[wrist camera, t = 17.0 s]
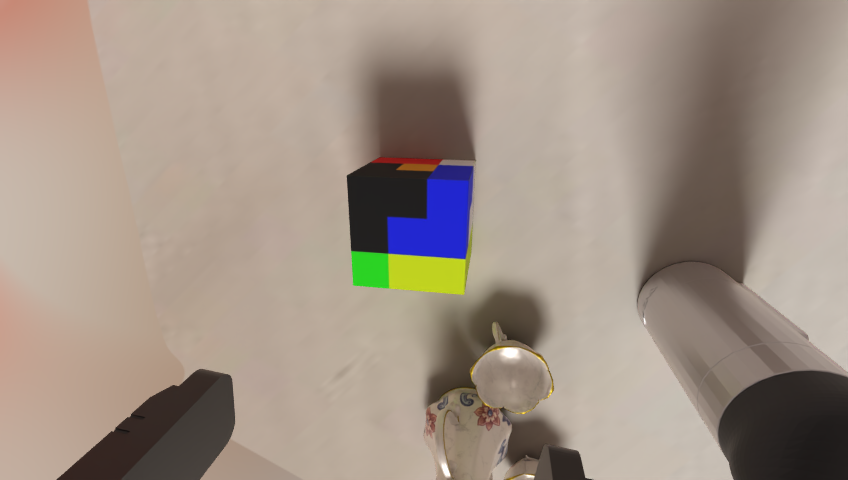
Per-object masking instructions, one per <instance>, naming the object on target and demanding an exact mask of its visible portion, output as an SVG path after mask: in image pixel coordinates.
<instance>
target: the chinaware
mask: <svg viewBox="0 0 848 480" xmlns="http://www.w3.org/2000/svg"><path fill="white" fill-rule="evenodd" d="M492 332H493V336H494V339H495V344H494V345H492V346H490V347H489V348H488V349H487V350H486V351H485V353H484V354H483V355H482V356H481V357H480V358H479V359H478V360H477V361H476V362H475V363H474V365H473V366H472V367H471V369H470V377H471V381H472V383H473V384H474V385H476V386H475V388H476V389H475V388H470V387H460V388H455V389H452V390H449V391H447V392H446V393H444V394H443V395H442V396H441V397H440V399H439V400H438V401H437V402H435V403H433V404H431V405H430V406H429V407H428V408H427V410H426V425H425V430H424V440H425V443H426V444H427V446H428V448H429V450H430V451H431V453H432V455H433V458H434V461H435V466H436V474H437V476H436V480H492V471H493V469H494V468H495V467H496V466H497V465H498V464H499V463H500V462H501V461H502V460H503V459H504V457H505V456H506V454H507V450H508V441H509V436H510V434H511V431H512V424H511V422H510V420H509V419H508V418H507V417H506V416H505V415H504V414H503V413H502V412H501V409H500V408H502V407H503V406H504V409H506V410H508V411H510V412H512V413H518V414H525V413H527V412H529V411H531V410H533V409H534V408H535V406H536V405H537V404H538V403H539V400H540V401H541V400H544V399H546V398H548V397H549V396H550V394H551V393H552V392H553V391H554V386H553V379H552V376H551V373H550V371H549V368H548V365H547V363H546V361H545V360H544V358H543V356H542V355H541V354H539V353H537V352H535V351H534V350H533V349H531V348H530V347H529V346H527V345H526V344H524V343H521V342H519V341H514V339H513V340H507V336H506V334H503V333H502V330H501V328H500V326H499V324H498V322H493V324H492ZM498 333H499V335H500V336H498ZM499 339H500V340H499ZM538 463H539V459H538V460H537V459H534V458H531V457H528V456H527V455H526V457H525V458H523V459H521V460H520V461H518V462H517V461H516V464H514V465H513V466H512V467H511V468H510V469H509V470H508V471H507V473H506V475H505V477H504V480H534V477H535V473H536V470H537V466H538Z"/></svg>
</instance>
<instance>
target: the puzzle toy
mask: <svg viewBox="0 0 848 480" xmlns="http://www.w3.org/2000/svg"><path fill="white" fill-rule="evenodd" d="M475 164H476V161H475V160H445V159H414V158H383V157H379V158H377V159H376V160H374V161H372V162H370V163H368V164H367V165H365V166H363V167H361V168H360V169H358V170H356V171H354V172H352V173H351V174H349V175H347V186H348V203H349V220H350V237H351V254H352V271H353V285H354V286H366V287H378V288H390V289H402V290H414V291H426V292H438V293H450V294H462V295H464V292H465V286H466V280H467V274H468V268H469V263H470V257H471V246H472V225H473V205H474V184H475Z"/></svg>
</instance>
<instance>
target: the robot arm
mask: <svg viewBox="0 0 848 480" xmlns="http://www.w3.org/2000/svg"><path fill="white" fill-rule="evenodd" d="M638 313H639V316H640V319H641V321H642V322H643V324H644V326H645V327H646V329H647V330H648V332H649V334H650V335H651V337H652V339H653V340H654V342H655V344H656V345H657V347H658V349H659V350H660V352H661V354H662V355H663V357H664V358H665V360H666V362H667V363H668V365H669V367H670V368H671V370H672V371H673V373H674V375H675V376H676V378H677V379H678V381H679V383H680V384H681V386H682V388H683V389H684V391H685V392H686V394H687V396H688V397H689V399H690V401H691V402H692V404H693V405H694V407H695V409H696V410H697V412H698V413H699V415H700V417H701V418H702V420H703V421H704V423H705V425H706V426H707V428H708V429H709V431H710V433H711V434H712V436H713V437H714V439H715V441H716V442H717V444H718V446H719V447H720V449H721V450H722V452H723V453H724V455H725V457H726V458H727V460H728V462H729V465H730V470H731V474H732V476H733V479H734V480H848V372H847V371H845V370H844V369H843V368H842V367H841V366H839V365H838V364H837V363H836V362H834V361H833V360H832V359H831V358H829V357H828V356H827V355H826V354H824V353H823V352H822V351H820V350H819V349H818V348H817V347H816V346H814V345H813V344H812V343H811V342H809V338H808V335H807V334H806V333H805V332H804V331H803V330H801V329H800V328H799V327H798V326H796V325H795V324H794V323H792V322H791V321H790V320H789V319H787V318H786V317H785V316H784V315H782V314H781V313H780V312H779V311H777V310H776V309H775V308H774V307H772V306H771V305H770V304H768V303H767V302H766V301H765V300H763V299H762V298H761V297H760V296H758V295H757V294H756V293H755V292H753V291H752V290H751V289H749V288H748V287H747V286H746V285H744V284H743V283H738V282H736V281H735V280H733V279H732V278H731V277H730V276H728V275H727V274H726V273H725V272H723V271H722V270H720V269H719V268H717V267H715V266H712V265H710V264H707V263H702V262H682V263H677V264H673V265H671V266H668V267H665V268H664V269H662V270H660V271H659V272H657V273H655V274H654V275H653V276H652V277H651V278H650V279H649V280H648V281H647V282H646V284H645V285H644V286H643V288H642V290H641V292H640V294H639V298H638ZM234 425H235V410H234V397H233V384H232V378H231V376H230V375H228V374H223V373H219V372H214V371H209V370H205V369H199V370H197V371H195V372H194V373H193V374H192V375H191V376H190V377H188V378H187V379H186V380H185V381H184V382H183V383H182V384H181V385H180V386H175V385H173V386H171V387H169V388H167V389H165V390H163V391H161V392H159V393H157V394H156V395H154V396H152V397H150V398H149V399H148V400H147V401H145V402H144V403H143V404H142V405H141V406H140V407H139V408H137V409H136V410H135V411H134V412H133V413H132V414H131V416H130V417H127V418H126V419H125V420H124V421H123V422H122V423H121V424H119V425H118V426H117V427H116V429H115V431H114V432H112V431H111V432H110V433H109V434H108V435H107V436H106V437H105V438H103V440H101V441H100V442H99V443H98V444H97V445H96V446H95V447H93V448H92V449H91V450H90V451H89V452H87V453H86V454H85V455H84V456H83V457H82V458H81V459H80V460H79V461H77V462H76V463H75V464H74V465H73V466H72V467H70V468H69V469H68V470H67V471H66V472H65V473H64V474H63V475H61V476H60V477H59V478H58V479H57V480H200V479H201V477H202V476H203V475H204V473H205V472H206V471H207V469H208V468H209V467H210V466H211V464H212V463H213V461H214V460H215V459H216V458H217V456H218V455H219V454H220V452H221V451H222V450H223V449H224V447H225V446H226V444H227V443H228V441H229V439H230V437H231V435H232V432H233V429H234ZM534 480H592V479H588V478H585V474H584V470H583V466H582V461H581V457H580V454H579V452H578V451H576V450H571V449H567V448H562V447H557V446H553V445H548V444H545V445H544V446H543V449H542V452H541V455H540V459H539V463H538V466H537V470H536V473H535V477H534Z"/></svg>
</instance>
